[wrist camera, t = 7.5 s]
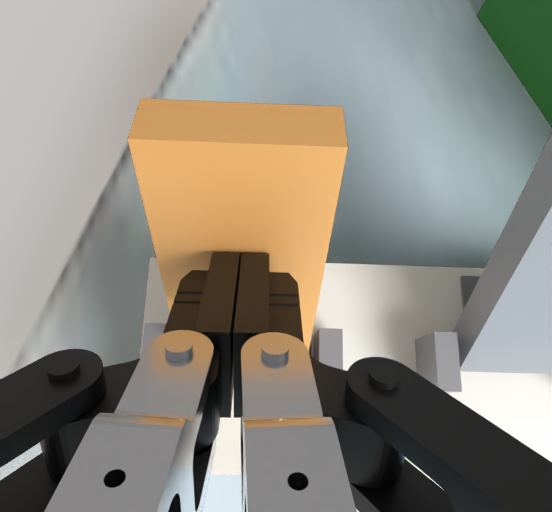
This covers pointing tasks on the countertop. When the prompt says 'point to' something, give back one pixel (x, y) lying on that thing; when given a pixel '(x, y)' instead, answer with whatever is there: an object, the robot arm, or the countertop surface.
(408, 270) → the power strip
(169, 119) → the orange switch
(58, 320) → the countertop surface
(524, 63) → the green cereal box
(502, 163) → the countertop surface
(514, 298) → the grey switch
